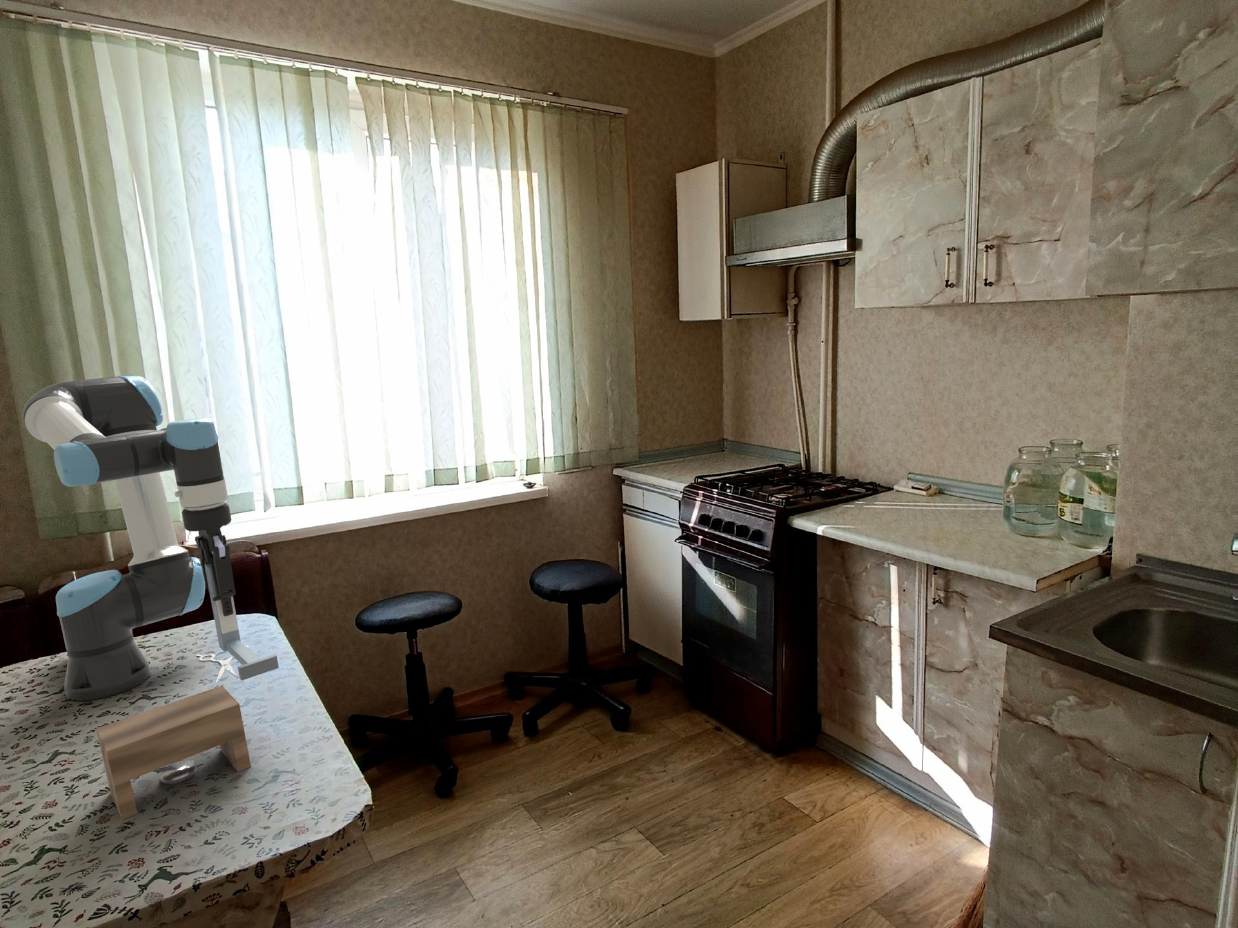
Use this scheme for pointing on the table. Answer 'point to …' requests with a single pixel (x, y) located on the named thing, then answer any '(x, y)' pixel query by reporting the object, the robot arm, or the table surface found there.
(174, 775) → the steel token
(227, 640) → the push tool
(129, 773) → the wooden arch block
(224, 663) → the scissors
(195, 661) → the table surface
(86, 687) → the robot arm
